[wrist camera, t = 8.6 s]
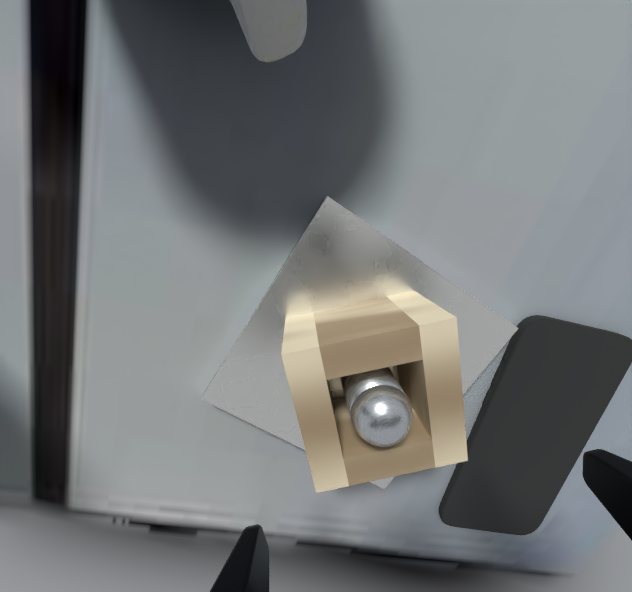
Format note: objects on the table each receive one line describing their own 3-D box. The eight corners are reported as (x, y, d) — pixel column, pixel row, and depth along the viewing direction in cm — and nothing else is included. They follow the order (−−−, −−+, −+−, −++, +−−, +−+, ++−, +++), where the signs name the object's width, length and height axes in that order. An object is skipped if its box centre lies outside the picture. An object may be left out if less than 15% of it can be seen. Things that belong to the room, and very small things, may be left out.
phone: (435, 524, 20) (528, 313, 16) (429, 512, 20) (517, 308, 17) (534, 537, 20) (645, 341, 17) (525, 525, 21) (629, 335, 18)
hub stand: (379, 475, 19) (418, 597, 13) (206, 388, 16) (154, 486, 10) (505, 321, 16) (624, 381, 10) (325, 197, 14) (345, 182, 8)
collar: (427, 403, 16) (467, 460, 12) (312, 427, 16) (316, 492, 12) (414, 291, 15) (456, 317, 11) (285, 318, 15) (281, 354, 11)
